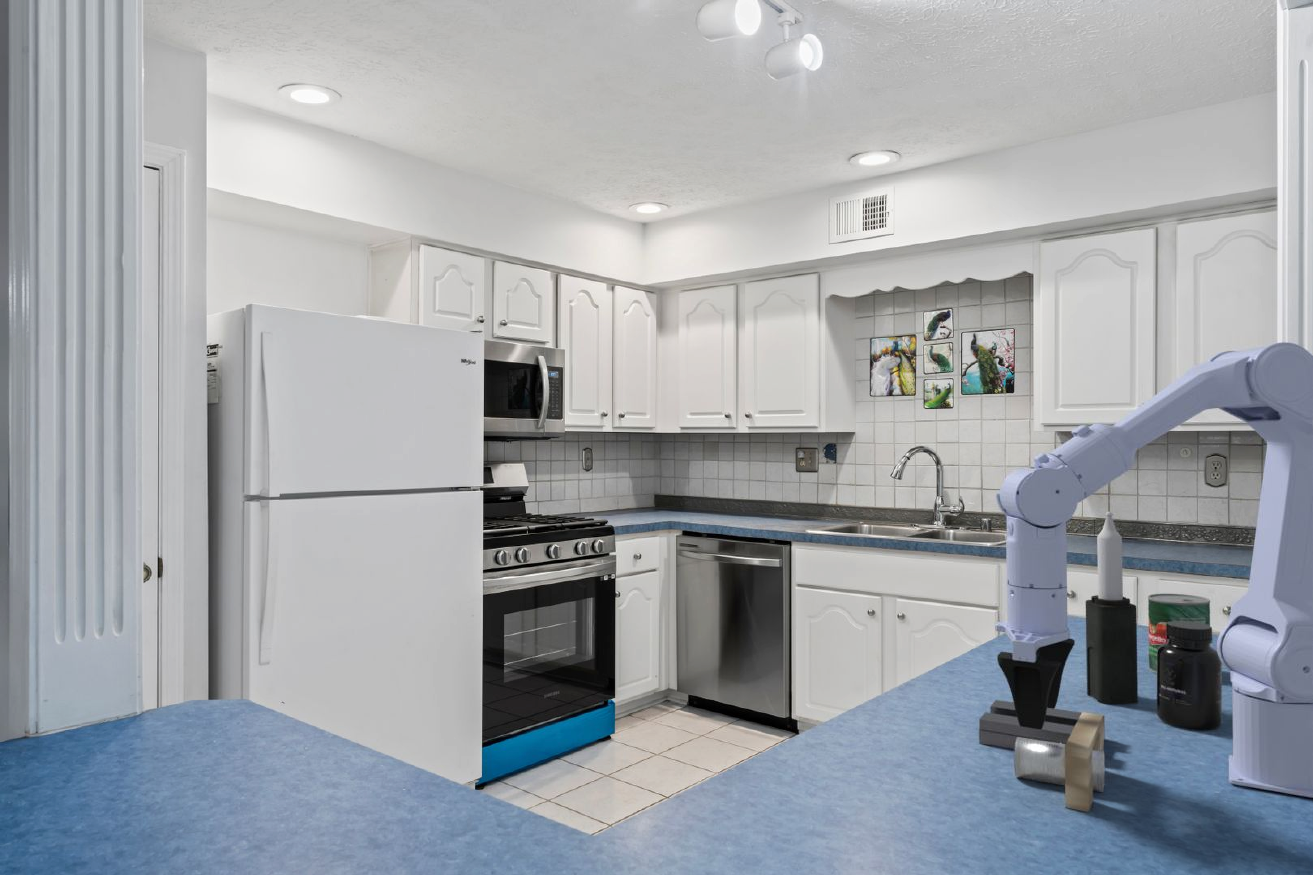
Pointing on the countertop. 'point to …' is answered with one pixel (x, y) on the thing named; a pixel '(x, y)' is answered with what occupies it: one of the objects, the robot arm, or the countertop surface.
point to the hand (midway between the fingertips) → (1038, 716)
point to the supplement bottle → (1189, 678)
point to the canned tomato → (1172, 617)
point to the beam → (1082, 760)
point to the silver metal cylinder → (1051, 762)
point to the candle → (1111, 627)
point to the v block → (1005, 727)
